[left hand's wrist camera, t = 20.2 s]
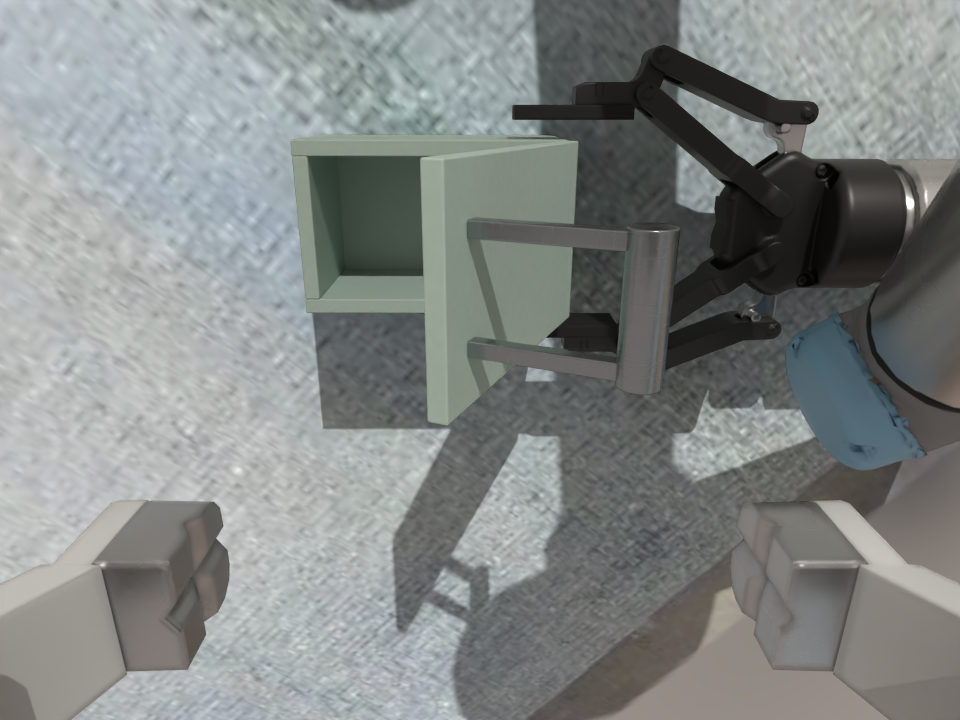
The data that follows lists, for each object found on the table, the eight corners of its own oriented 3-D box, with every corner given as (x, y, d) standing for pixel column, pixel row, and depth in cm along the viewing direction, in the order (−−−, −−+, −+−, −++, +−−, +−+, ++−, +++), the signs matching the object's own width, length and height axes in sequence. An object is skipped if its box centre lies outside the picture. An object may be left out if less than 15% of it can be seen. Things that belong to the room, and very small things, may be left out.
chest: (336, 277, 47) (306, 313, 38) (325, 134, 43) (290, 139, 35) (546, 278, 47) (561, 313, 39) (552, 135, 43) (569, 140, 35)
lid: (426, 422, 25) (645, 468, 22) (418, 157, 22) (676, 165, 18) (554, 315, 38) (702, 333, 35) (562, 140, 35) (726, 143, 32)
